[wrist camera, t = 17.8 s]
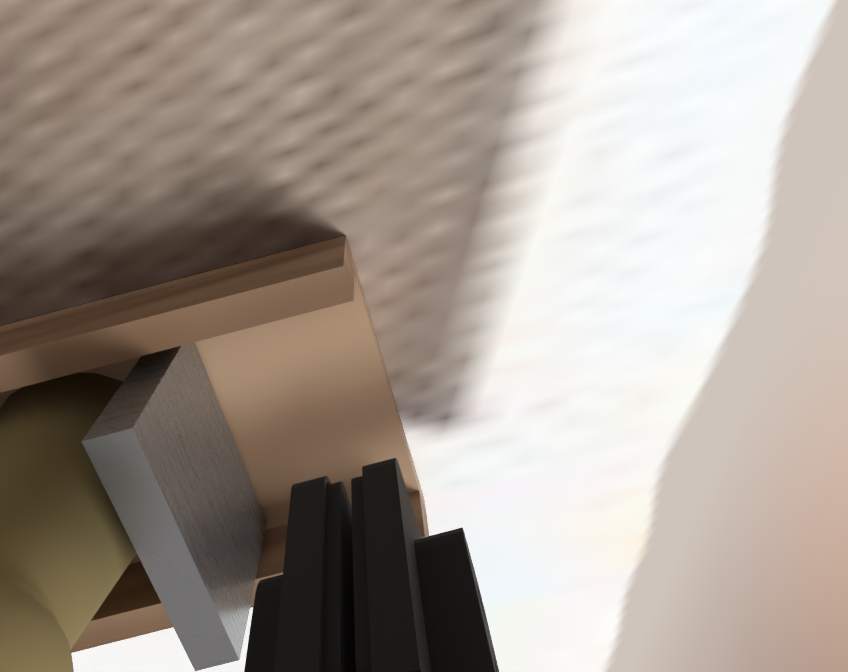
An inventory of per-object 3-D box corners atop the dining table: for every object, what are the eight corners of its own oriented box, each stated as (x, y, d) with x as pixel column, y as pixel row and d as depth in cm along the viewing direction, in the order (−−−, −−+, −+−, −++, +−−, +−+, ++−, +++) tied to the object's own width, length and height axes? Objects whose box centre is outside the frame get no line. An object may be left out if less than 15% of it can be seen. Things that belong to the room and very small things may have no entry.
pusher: (152, 340, 22) (81, 441, 17) (190, 331, 22) (132, 428, 17) (232, 530, 25) (195, 671, 19) (266, 521, 25) (239, 660, 19)
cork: (-13, 520, 24) (-287, 870, 14) (-10, 355, 22) (-329, 624, 12) (174, 545, 25) (46, 890, 15) (195, 389, 23) (62, 666, 13)
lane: (-93, 350, 23) (-164, 398, 20) (345, 235, 22) (343, 266, 19) (48, 596, 26) (7, 668, 23) (424, 500, 26) (432, 561, 23)
